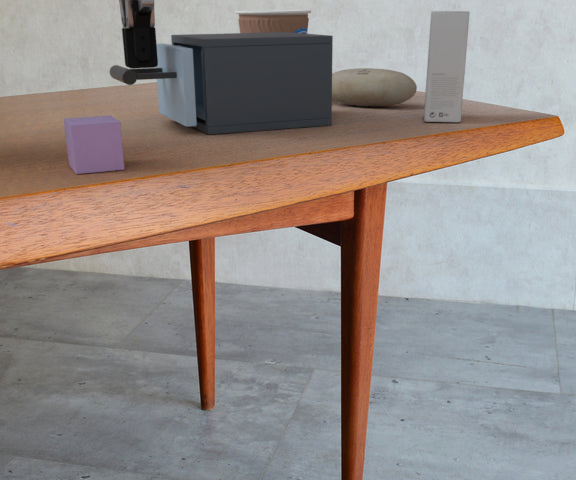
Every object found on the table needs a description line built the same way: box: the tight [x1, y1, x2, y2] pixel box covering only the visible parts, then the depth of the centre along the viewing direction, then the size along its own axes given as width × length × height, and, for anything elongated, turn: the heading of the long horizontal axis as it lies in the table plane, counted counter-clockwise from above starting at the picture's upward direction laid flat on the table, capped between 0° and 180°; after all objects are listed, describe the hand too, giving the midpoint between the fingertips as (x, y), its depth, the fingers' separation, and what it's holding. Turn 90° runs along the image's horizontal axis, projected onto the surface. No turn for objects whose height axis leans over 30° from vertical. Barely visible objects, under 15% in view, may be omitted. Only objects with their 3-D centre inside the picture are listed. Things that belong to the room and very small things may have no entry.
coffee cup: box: [235, 9, 312, 34], centre depth 102 cm, size 10×10×12 cm
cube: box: [63, 115, 126, 175], centre depth 62 cm, size 4×4×4 cm
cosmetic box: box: [423, 10, 470, 123], centre depth 85 cm, size 6×4×12 cm
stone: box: [332, 67, 418, 107], centre depth 97 cm, size 6×6×12 cm
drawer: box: [109, 43, 205, 128], centre depth 82 cm, size 19×11×8 cm, turn 113°
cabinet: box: [170, 32, 334, 136], centre depth 84 cm, size 15×13×10 cm
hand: (141, 66), depth 79 cm, fingers closed
